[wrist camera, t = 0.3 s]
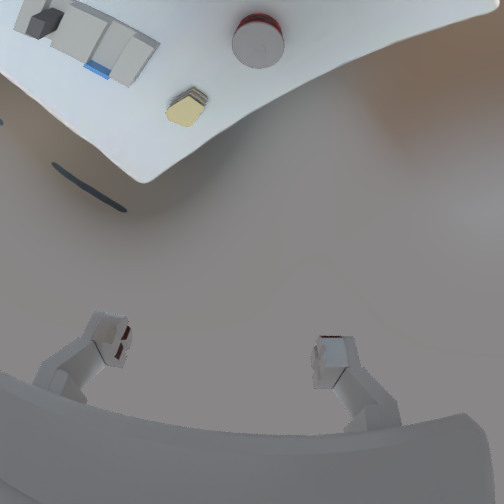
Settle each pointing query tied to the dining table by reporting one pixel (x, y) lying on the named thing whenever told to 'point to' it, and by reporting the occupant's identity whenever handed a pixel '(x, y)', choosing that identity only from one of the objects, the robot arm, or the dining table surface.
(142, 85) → the dining table surface
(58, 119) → the dining table surface
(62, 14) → the dark grey rectangular box
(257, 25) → the canned food
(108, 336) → the robot arm
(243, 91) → the dining table surface
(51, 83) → the dining table surface
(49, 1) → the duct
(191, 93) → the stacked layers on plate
